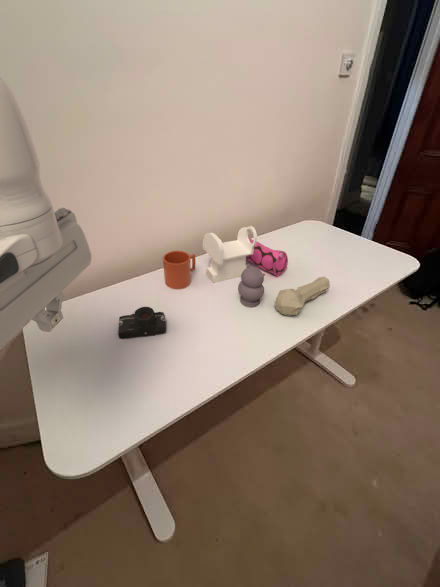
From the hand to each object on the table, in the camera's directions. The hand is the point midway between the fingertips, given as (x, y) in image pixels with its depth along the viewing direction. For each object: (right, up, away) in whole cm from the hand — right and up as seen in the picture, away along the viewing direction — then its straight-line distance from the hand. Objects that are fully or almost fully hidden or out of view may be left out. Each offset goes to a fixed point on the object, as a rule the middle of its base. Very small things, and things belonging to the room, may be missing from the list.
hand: (52, 324), depth 43 cm
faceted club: (+51, +1, +54) cm, 74 cm away
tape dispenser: (+27, +11, +65) cm, 71 cm away
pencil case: (+38, +15, +72) cm, 83 cm away
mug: (+10, +9, +61) cm, 63 cm away
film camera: (+2, -5, +42) cm, 42 cm away
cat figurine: (+33, +2, +54) cm, 63 cm away
